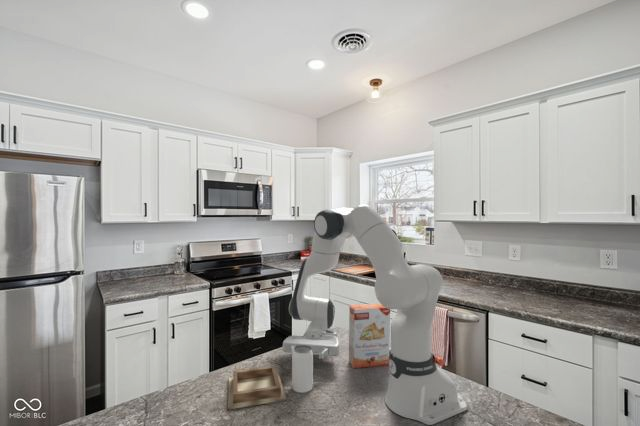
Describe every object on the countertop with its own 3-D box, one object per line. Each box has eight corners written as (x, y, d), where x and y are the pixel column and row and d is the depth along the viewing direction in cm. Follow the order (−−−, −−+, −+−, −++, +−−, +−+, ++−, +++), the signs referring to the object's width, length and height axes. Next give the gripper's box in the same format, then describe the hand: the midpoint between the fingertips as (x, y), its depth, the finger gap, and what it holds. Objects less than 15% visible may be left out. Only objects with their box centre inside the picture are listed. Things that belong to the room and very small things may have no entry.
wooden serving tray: (278, 372, 102) (278, 363, 102) (285, 400, 86) (285, 389, 86) (229, 379, 97) (229, 369, 97) (228, 409, 82) (228, 398, 82)
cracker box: (353, 369, 104) (354, 309, 105) (348, 361, 110) (348, 304, 111) (390, 365, 107) (390, 307, 108) (383, 357, 113) (383, 302, 114)
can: (310, 395, 89) (310, 354, 89) (289, 392, 90) (289, 352, 90) (314, 383, 95) (315, 345, 95) (295, 381, 96) (295, 343, 97)
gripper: (287, 329, 115) (277, 343, 101) (340, 332, 112) (337, 348, 98) (287, 345, 115) (277, 362, 101) (340, 349, 111) (337, 367, 98)
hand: (307, 355), depth 99 cm, fingers open, 8 cm apart
